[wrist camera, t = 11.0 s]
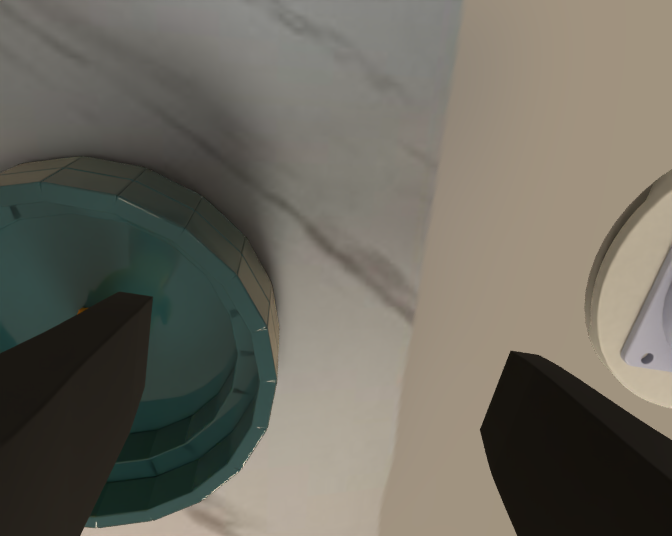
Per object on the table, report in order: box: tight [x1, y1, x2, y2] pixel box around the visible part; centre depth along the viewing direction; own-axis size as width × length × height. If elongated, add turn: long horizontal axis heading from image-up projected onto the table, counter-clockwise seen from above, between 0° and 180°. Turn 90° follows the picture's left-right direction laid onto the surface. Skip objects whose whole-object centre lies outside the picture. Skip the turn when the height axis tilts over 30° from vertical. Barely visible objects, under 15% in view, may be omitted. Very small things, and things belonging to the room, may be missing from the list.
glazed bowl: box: [0, 156, 280, 528], centre depth 20 cm, size 13×13×4 cm
